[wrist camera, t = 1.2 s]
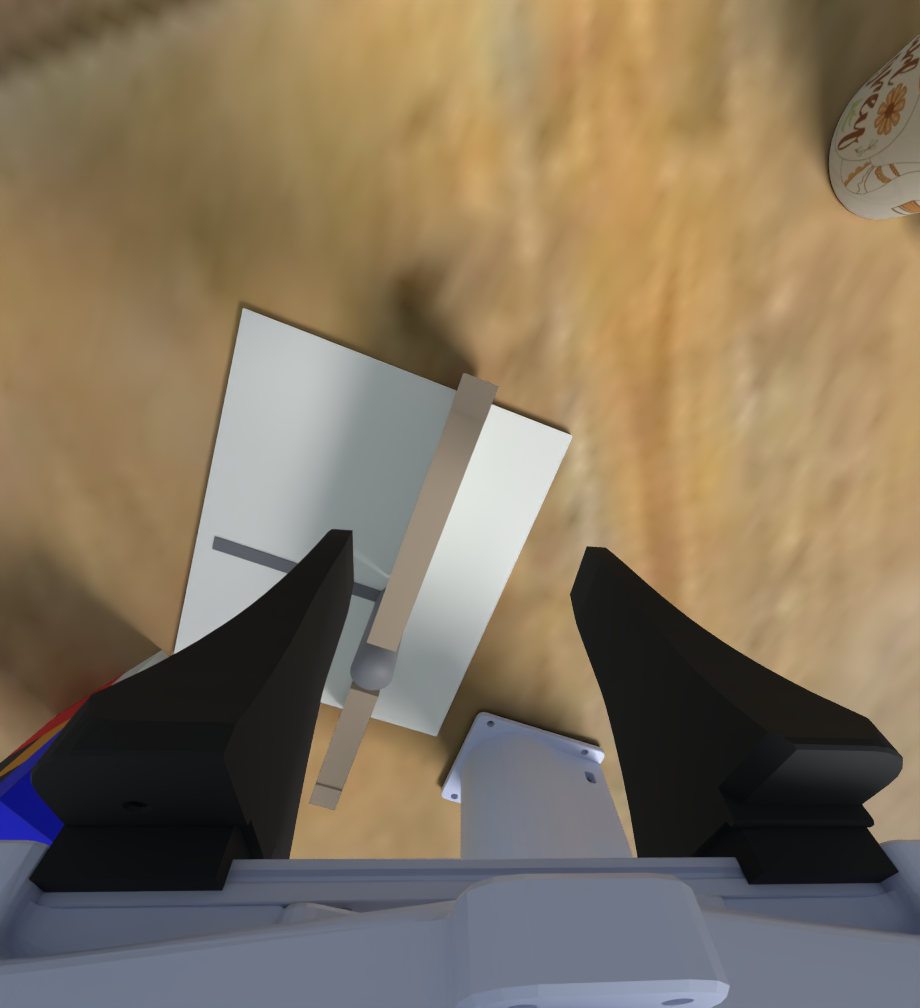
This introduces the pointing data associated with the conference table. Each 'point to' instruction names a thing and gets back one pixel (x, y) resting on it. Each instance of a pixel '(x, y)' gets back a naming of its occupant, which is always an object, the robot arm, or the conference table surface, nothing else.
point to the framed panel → (432, 508)
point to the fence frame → (354, 714)
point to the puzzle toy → (7, 786)
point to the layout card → (360, 504)
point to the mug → (881, 142)
